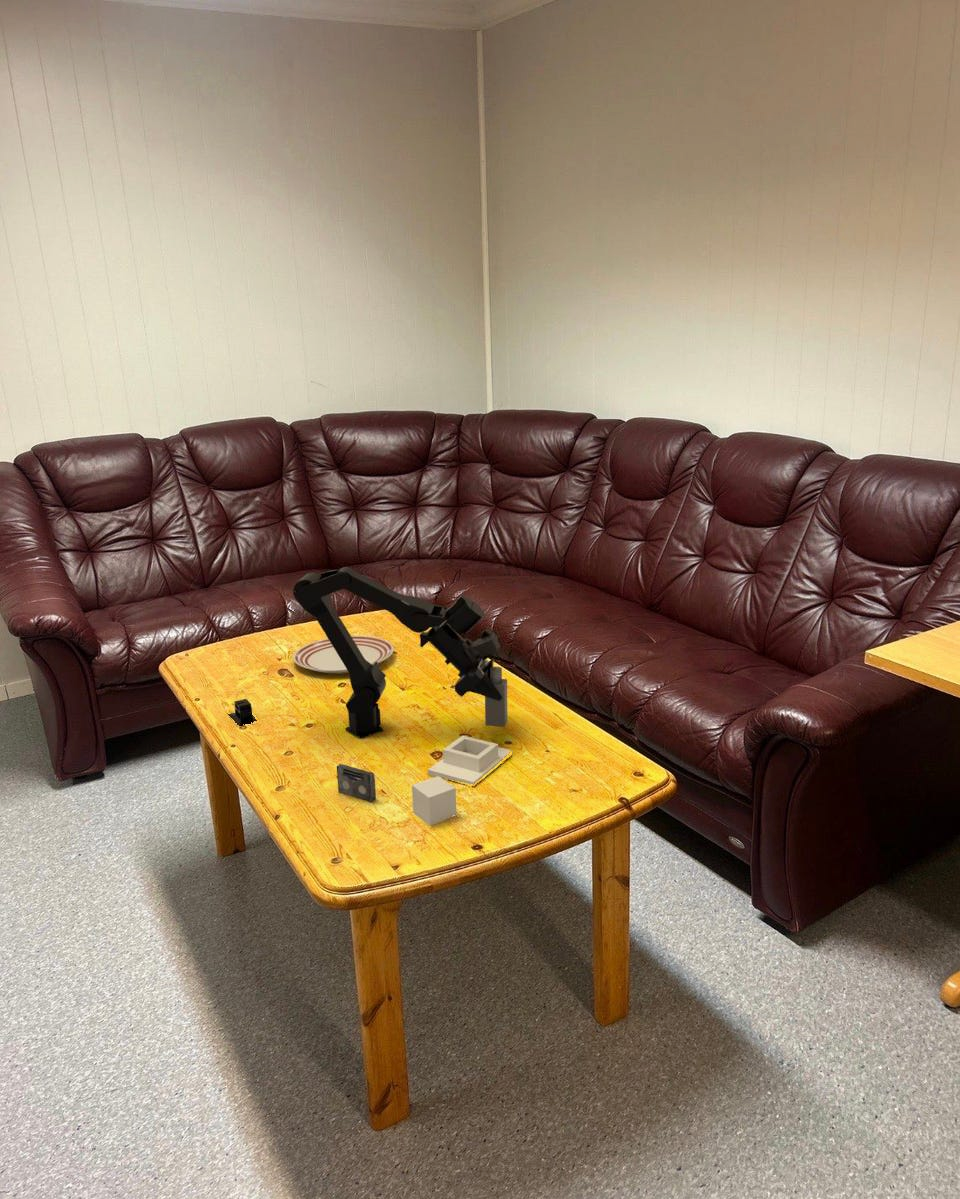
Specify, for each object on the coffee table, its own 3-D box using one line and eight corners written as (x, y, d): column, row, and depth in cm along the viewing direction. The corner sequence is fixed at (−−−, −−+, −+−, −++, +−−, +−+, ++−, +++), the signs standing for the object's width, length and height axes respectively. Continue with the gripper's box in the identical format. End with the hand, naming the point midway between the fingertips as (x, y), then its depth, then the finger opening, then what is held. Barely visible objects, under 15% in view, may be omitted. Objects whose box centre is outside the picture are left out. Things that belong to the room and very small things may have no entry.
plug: (485, 725, 206) (484, 671, 202) (488, 719, 210) (487, 665, 206) (504, 727, 206) (504, 672, 202) (507, 720, 209) (507, 666, 205)
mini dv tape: (376, 799, 183) (374, 772, 181) (371, 802, 182) (369, 775, 180) (343, 789, 187) (341, 762, 185) (338, 792, 186) (336, 765, 184)
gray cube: (439, 803, 181) (438, 775, 179) (456, 816, 176) (455, 787, 175) (413, 813, 178) (411, 785, 176) (430, 826, 173) (428, 797, 171)
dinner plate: (275, 675, 247) (274, 664, 246) (321, 641, 272) (320, 630, 271) (370, 685, 239) (370, 673, 238) (408, 649, 264) (408, 638, 263)
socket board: (428, 774, 192) (427, 756, 191) (468, 744, 205) (468, 727, 204) (473, 787, 186) (472, 768, 185) (512, 755, 200) (512, 737, 198)
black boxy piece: (222, 714, 224) (220, 697, 223) (251, 707, 228) (249, 690, 227) (238, 733, 214) (236, 715, 213) (268, 725, 218) (266, 707, 216)
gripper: (468, 637, 193) (521, 690, 194) (485, 610, 210) (533, 658, 211) (432, 670, 196) (484, 722, 198) (452, 641, 214) (500, 688, 215)
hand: (502, 696), depth 205 cm, fingers closed on plug, 3 cm apart
